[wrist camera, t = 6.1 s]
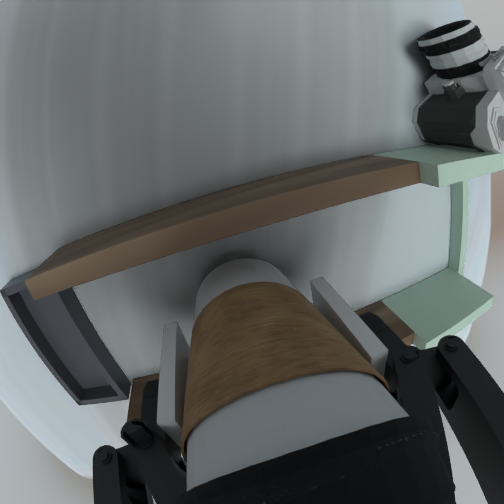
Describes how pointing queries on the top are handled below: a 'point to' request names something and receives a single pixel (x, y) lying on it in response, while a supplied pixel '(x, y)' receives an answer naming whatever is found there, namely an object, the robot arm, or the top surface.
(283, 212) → the channel
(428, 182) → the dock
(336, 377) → the coffee cup
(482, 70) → the camera
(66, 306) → the tray
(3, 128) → the top surface
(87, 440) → the top surface
